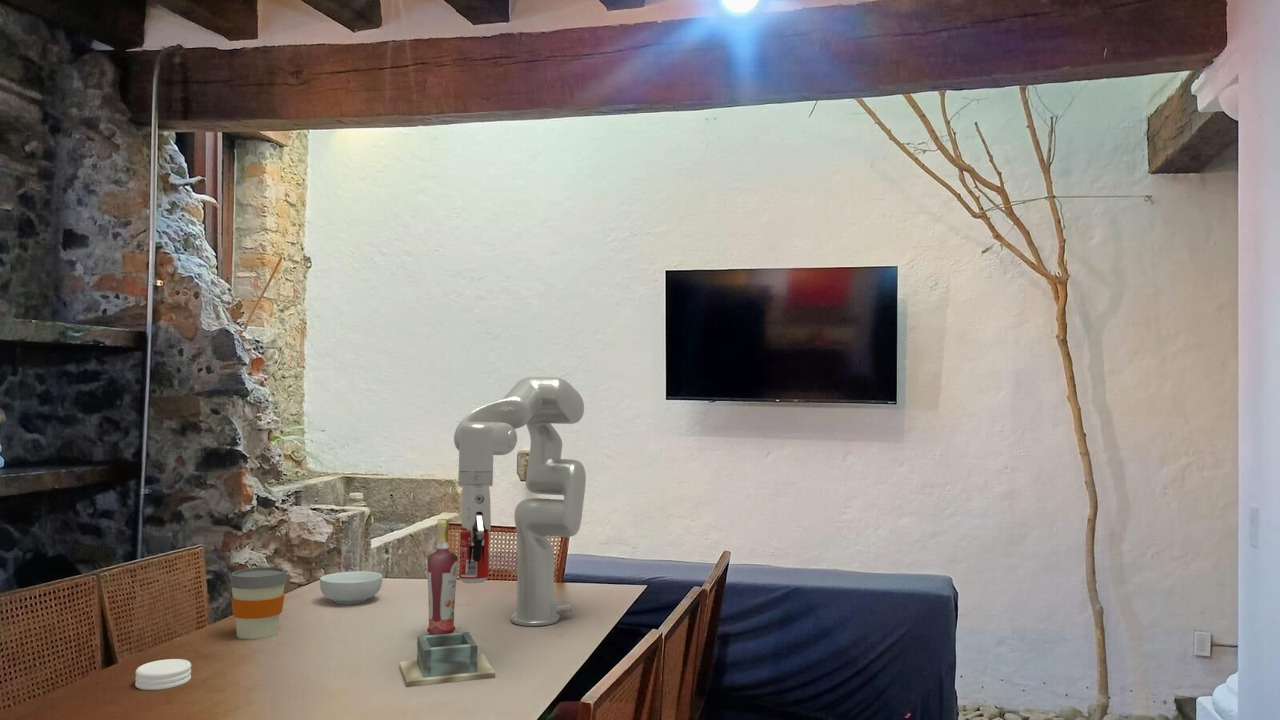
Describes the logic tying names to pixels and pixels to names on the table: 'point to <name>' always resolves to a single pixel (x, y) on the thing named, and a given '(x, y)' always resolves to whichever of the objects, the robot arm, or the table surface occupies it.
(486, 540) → the beverage can
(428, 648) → the well board
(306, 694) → the table surface
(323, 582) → the cereal bowl
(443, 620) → the liquor
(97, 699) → the table surface
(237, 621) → the reusable coffee cup
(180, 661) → the coaster
